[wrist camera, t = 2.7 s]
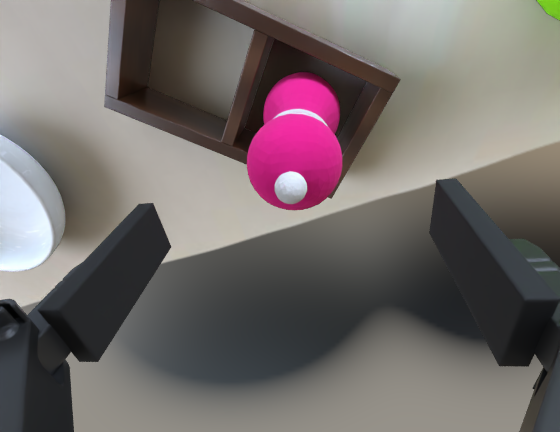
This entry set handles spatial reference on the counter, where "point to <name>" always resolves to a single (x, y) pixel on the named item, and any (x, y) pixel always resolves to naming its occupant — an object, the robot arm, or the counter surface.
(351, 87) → the counter surface
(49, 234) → the serving bowl
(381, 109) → the caddy
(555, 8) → the wineglass
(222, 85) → the counter surface
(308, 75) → the pepper mill
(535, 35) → the counter surface
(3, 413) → the robot arm
